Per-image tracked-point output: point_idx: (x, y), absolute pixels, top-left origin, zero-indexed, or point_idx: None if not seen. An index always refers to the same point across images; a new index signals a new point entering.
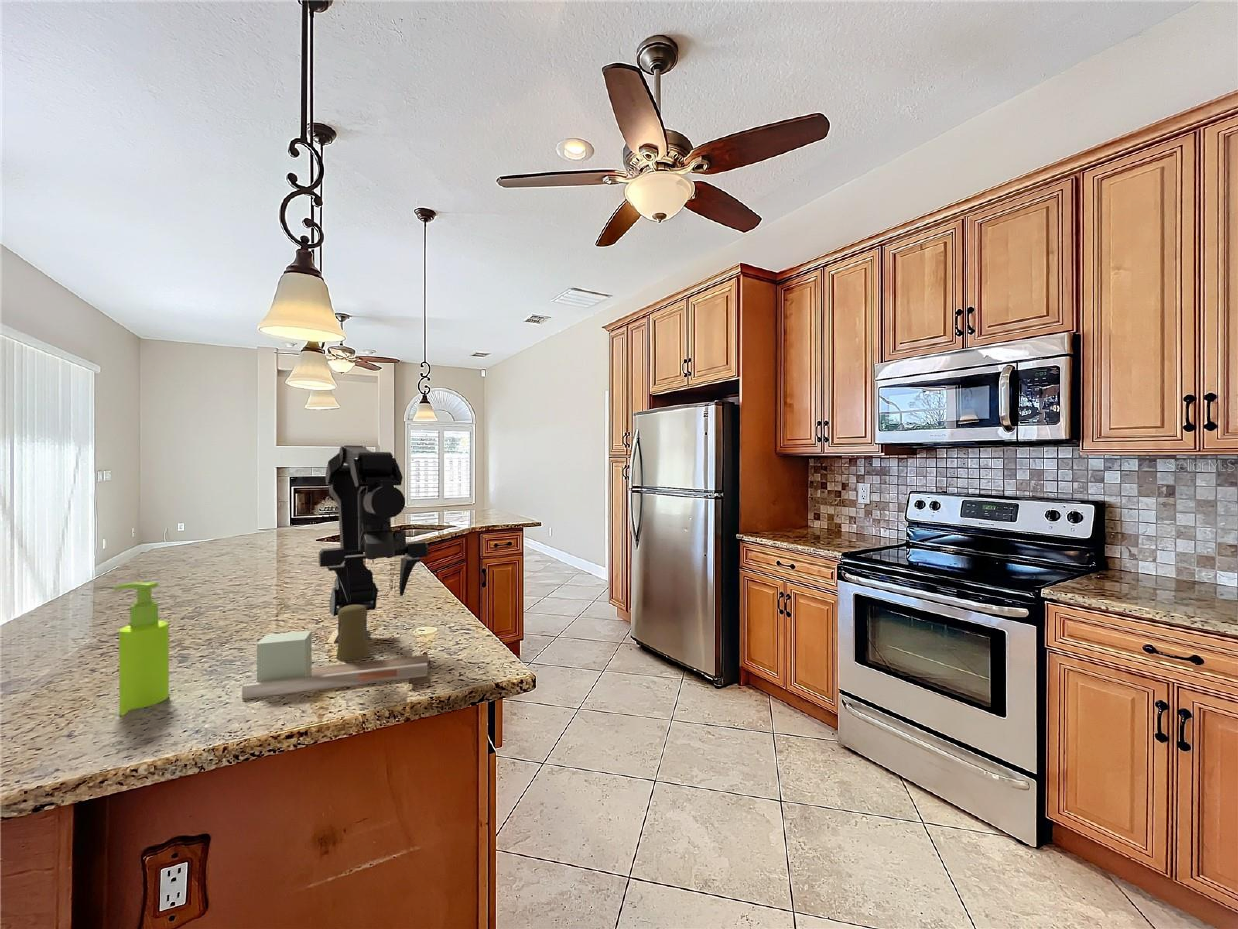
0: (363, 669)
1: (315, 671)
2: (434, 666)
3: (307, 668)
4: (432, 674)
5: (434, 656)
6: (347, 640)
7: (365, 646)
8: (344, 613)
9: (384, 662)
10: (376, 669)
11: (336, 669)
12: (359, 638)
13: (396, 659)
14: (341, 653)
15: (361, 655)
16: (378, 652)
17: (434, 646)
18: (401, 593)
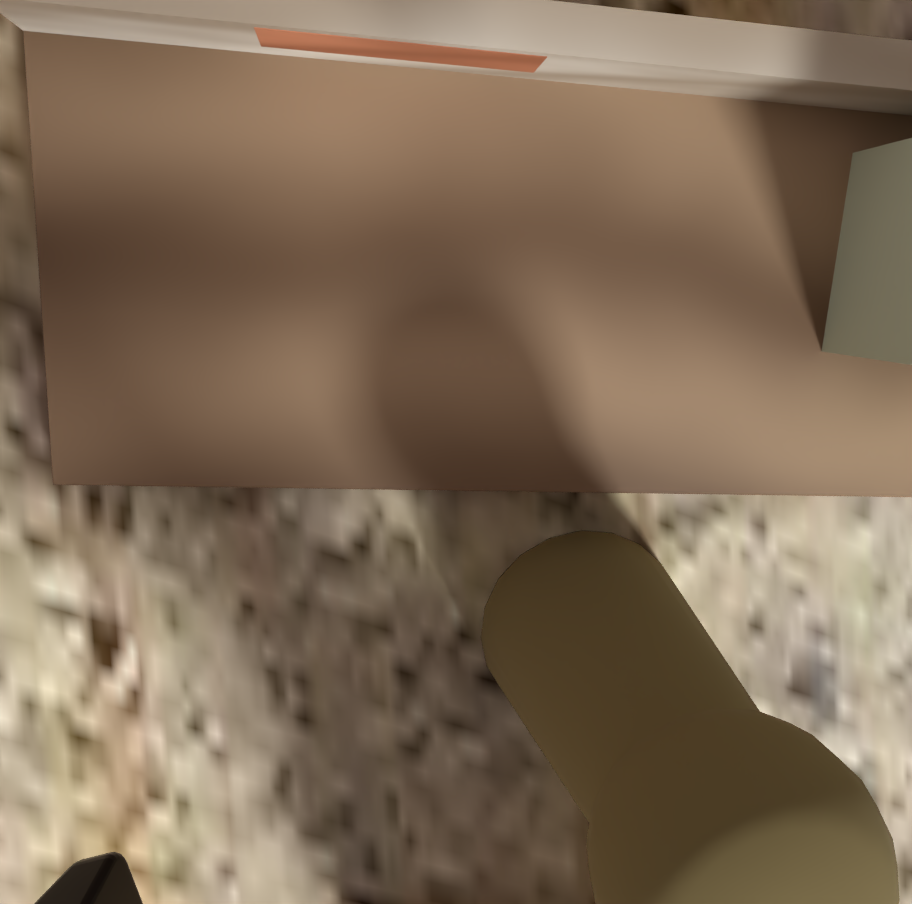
0: (514, 335)
1: (801, 418)
2: (11, 341)
3: (909, 216)
4: (14, 171)
5: (27, 555)
6: (680, 629)
7: (528, 647)
8: (846, 785)
9: (377, 428)
10: (421, 12)
11: (683, 405)
12: (592, 650)
13: (294, 464)
14: (678, 595)
15: (541, 583)
16: (431, 751)
17: (43, 765)
18: (93, 876)
